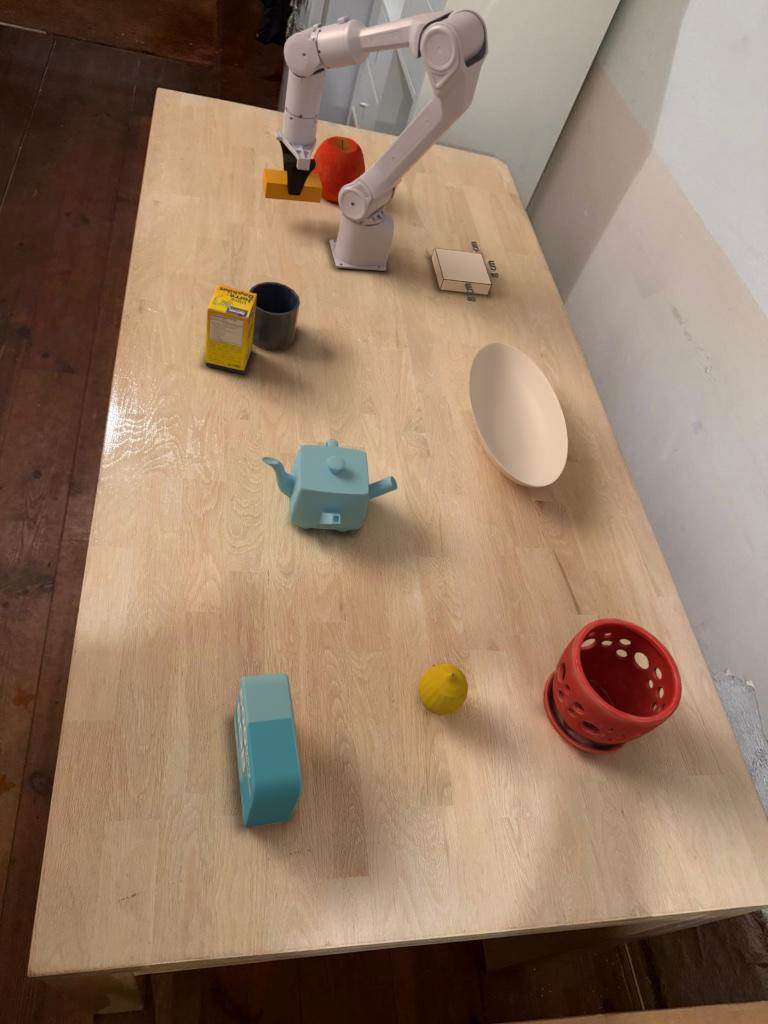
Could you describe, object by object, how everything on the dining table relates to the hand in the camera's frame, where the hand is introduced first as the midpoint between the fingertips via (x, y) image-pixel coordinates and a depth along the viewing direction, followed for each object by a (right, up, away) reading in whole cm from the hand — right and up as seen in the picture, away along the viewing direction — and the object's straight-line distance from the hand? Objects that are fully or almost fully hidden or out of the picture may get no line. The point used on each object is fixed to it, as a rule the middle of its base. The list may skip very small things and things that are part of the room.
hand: (292, 186), depth 134 cm
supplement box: (-7, -35, -20) cm, 41 cm away
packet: (0, -1, +1) cm, 1 cm away
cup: (-2, -30, -14) cm, 33 cm away
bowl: (+36, -47, -16) cm, 61 cm away
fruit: (+22, -82, -46) cm, 96 cm away
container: (+32, -14, +7) cm, 36 cm away
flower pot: (+41, -83, -42) cm, 102 cm away
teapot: (+8, -59, -33) cm, 68 cm away
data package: (+3, -86, -55) cm, 102 cm away
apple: (+7, +5, +15) cm, 17 cm away
